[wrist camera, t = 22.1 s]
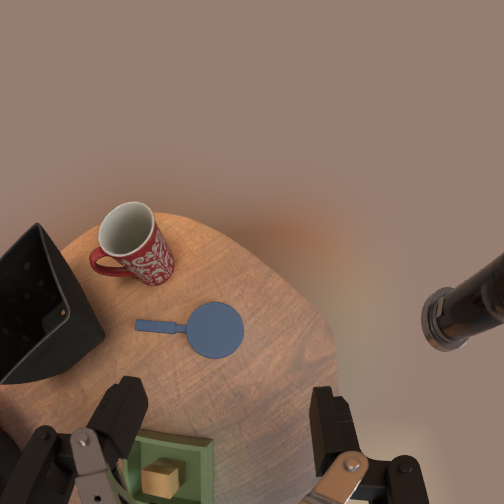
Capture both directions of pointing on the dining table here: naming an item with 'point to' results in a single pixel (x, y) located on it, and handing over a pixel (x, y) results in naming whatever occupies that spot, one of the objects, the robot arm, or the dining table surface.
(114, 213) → the mug
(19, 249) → the flower pot
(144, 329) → the blue ping pong paddle
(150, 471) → the wooden block
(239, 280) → the dining table surface
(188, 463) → the green storage bin
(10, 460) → the bowl
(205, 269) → the dining table surface
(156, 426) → the dining table surface
